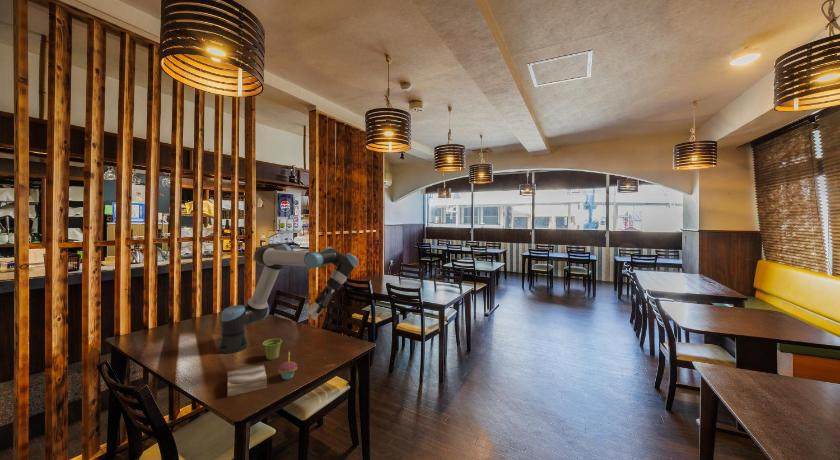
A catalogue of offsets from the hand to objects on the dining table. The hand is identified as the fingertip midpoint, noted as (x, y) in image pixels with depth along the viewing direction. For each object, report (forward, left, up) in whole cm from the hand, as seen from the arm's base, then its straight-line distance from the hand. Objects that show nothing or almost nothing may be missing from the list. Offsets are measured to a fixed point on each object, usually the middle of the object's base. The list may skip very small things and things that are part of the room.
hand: (310, 316), depth 158 cm
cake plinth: (+1, -28, -27) cm, 39 cm away
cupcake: (+3, -11, -27) cm, 29 cm away
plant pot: (-23, -15, -27) cm, 38 cm away
